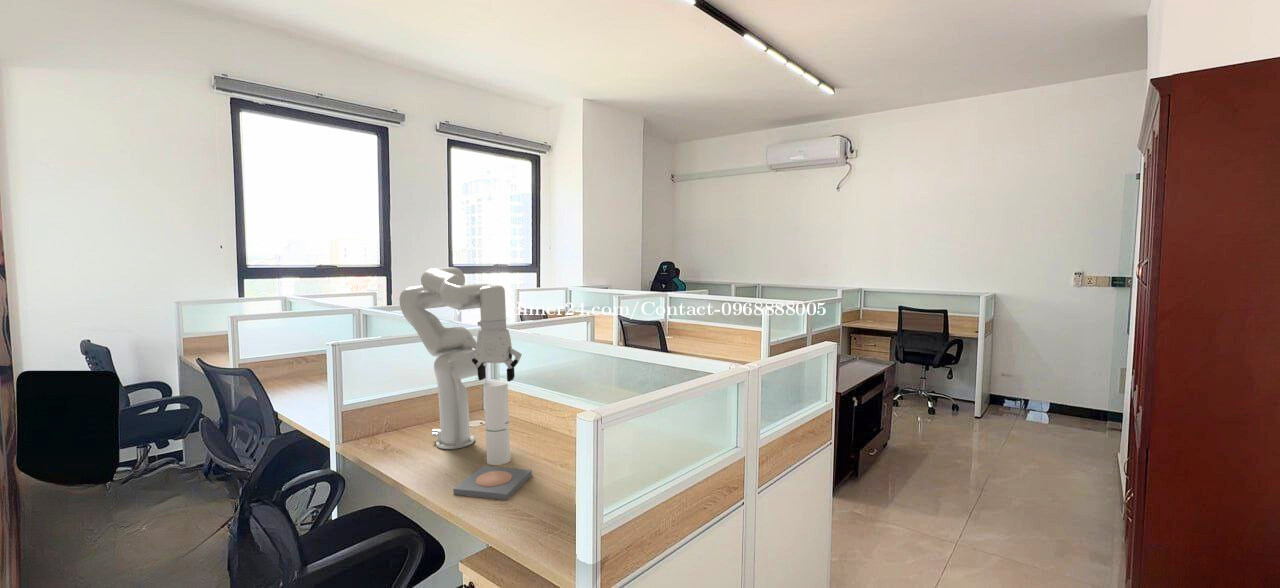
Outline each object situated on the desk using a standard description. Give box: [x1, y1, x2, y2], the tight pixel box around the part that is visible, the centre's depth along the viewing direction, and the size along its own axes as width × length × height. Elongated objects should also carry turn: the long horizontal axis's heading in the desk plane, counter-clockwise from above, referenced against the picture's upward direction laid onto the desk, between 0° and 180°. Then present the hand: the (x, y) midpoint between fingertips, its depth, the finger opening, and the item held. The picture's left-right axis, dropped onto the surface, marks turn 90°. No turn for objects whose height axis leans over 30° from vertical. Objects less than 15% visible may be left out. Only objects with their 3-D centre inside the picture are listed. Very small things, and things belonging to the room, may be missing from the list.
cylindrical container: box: [483, 379, 511, 466], centre depth 173 cm, size 7×7×25 cm
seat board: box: [452, 465, 533, 501], centre depth 157 cm, size 16×16×2 cm
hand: (496, 379), depth 172 cm, fingers open, 9 cm apart
